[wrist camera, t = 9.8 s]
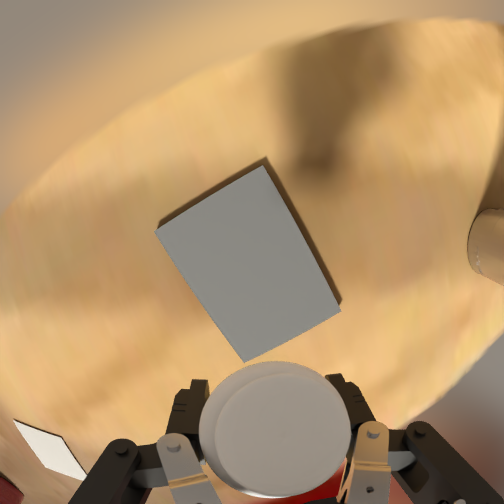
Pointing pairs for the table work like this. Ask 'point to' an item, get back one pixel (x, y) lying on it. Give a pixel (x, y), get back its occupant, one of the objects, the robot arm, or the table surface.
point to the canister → (9, 493)
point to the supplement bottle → (274, 430)
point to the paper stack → (51, 451)
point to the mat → (249, 265)
